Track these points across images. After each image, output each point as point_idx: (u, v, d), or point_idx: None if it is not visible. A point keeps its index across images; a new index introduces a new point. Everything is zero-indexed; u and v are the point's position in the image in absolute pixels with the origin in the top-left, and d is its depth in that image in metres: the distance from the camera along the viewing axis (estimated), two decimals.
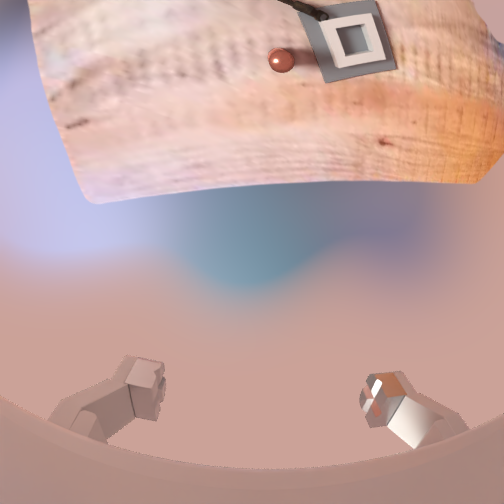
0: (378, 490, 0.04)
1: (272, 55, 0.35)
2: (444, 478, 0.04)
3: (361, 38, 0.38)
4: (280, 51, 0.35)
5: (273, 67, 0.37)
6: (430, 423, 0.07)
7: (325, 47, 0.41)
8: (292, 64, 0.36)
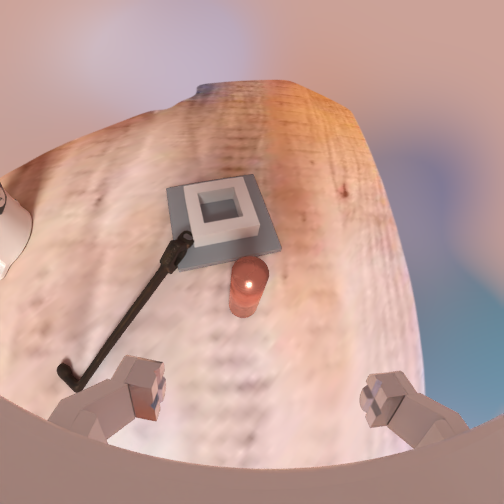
0: (378, 490, 0.04)
1: (239, 283, 0.29)
2: (444, 478, 0.04)
3: (218, 204, 0.46)
4: (233, 272, 0.30)
5: (259, 285, 0.29)
6: (430, 423, 0.07)
7: (231, 243, 0.43)
8: (256, 259, 0.31)
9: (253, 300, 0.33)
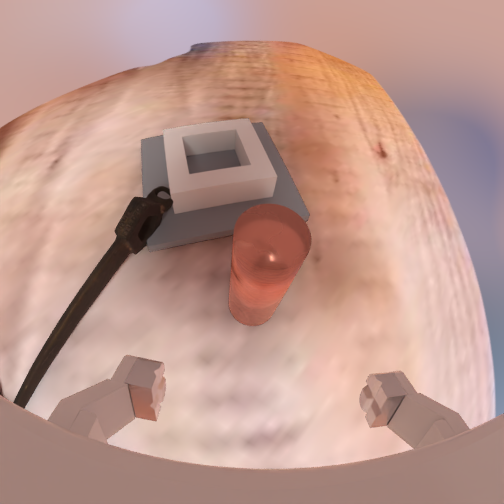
0: (378, 490, 0.04)
1: (250, 257, 0.14)
2: (444, 478, 0.04)
3: (213, 156, 0.31)
4: (238, 233, 0.14)
5: (294, 259, 0.14)
6: (430, 423, 0.07)
7: (232, 207, 0.27)
8: (283, 209, 0.15)
9: (276, 294, 0.17)
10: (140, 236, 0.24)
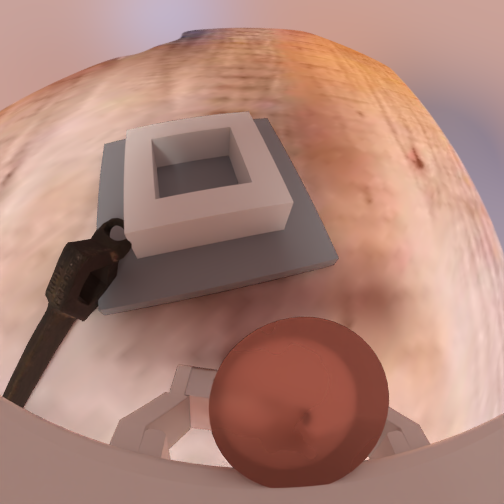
0: (378, 490, 0.04)
1: (252, 469, 0.04)
2: (444, 478, 0.04)
3: (197, 166, 0.21)
4: (220, 411, 0.05)
5: (350, 459, 0.04)
6: (385, 433, 0.07)
7: (223, 249, 0.18)
8: (330, 331, 0.06)
9: None
10: (87, 295, 0.15)
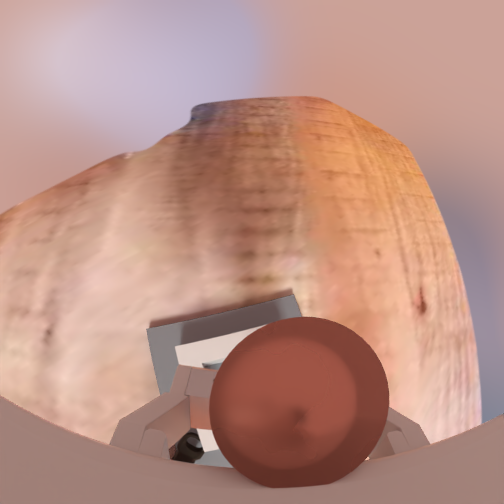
0: (378, 490, 0.04)
1: (252, 469, 0.04)
2: (444, 478, 0.04)
3: None
4: (220, 411, 0.05)
5: (351, 459, 0.04)
6: (385, 433, 0.07)
7: None
8: (331, 331, 0.06)
9: None
10: None
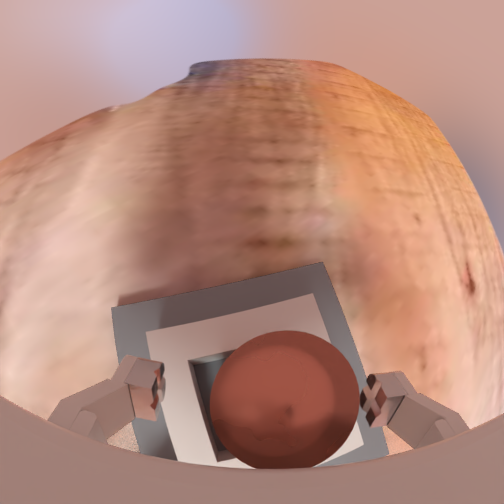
0: (378, 490, 0.04)
1: (244, 453, 0.06)
2: (444, 478, 0.04)
3: None
4: (219, 405, 0.06)
5: (326, 448, 0.06)
6: (430, 423, 0.07)
7: None
8: (309, 342, 0.07)
9: None
10: None
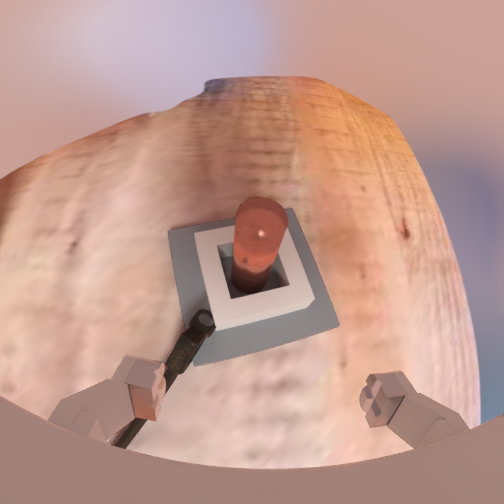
0: (378, 490, 0.04)
1: (247, 231, 0.20)
2: (444, 478, 0.04)
3: None
4: (238, 216, 0.21)
5: (275, 233, 0.21)
6: (430, 423, 0.07)
7: (270, 323, 0.28)
8: (269, 201, 0.22)
9: (265, 262, 0.24)
10: None
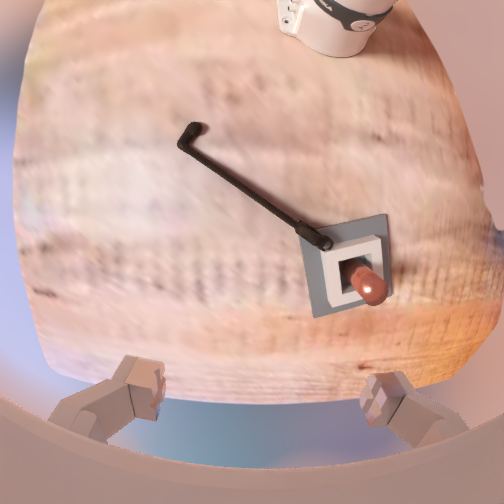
0: (378, 490, 0.04)
1: (369, 285, 0.36)
2: (444, 478, 0.04)
3: None
4: (378, 281, 0.36)
5: (366, 299, 0.37)
6: (430, 423, 0.07)
7: (321, 279, 0.47)
8: (385, 296, 0.37)
9: (355, 287, 0.40)
10: None
